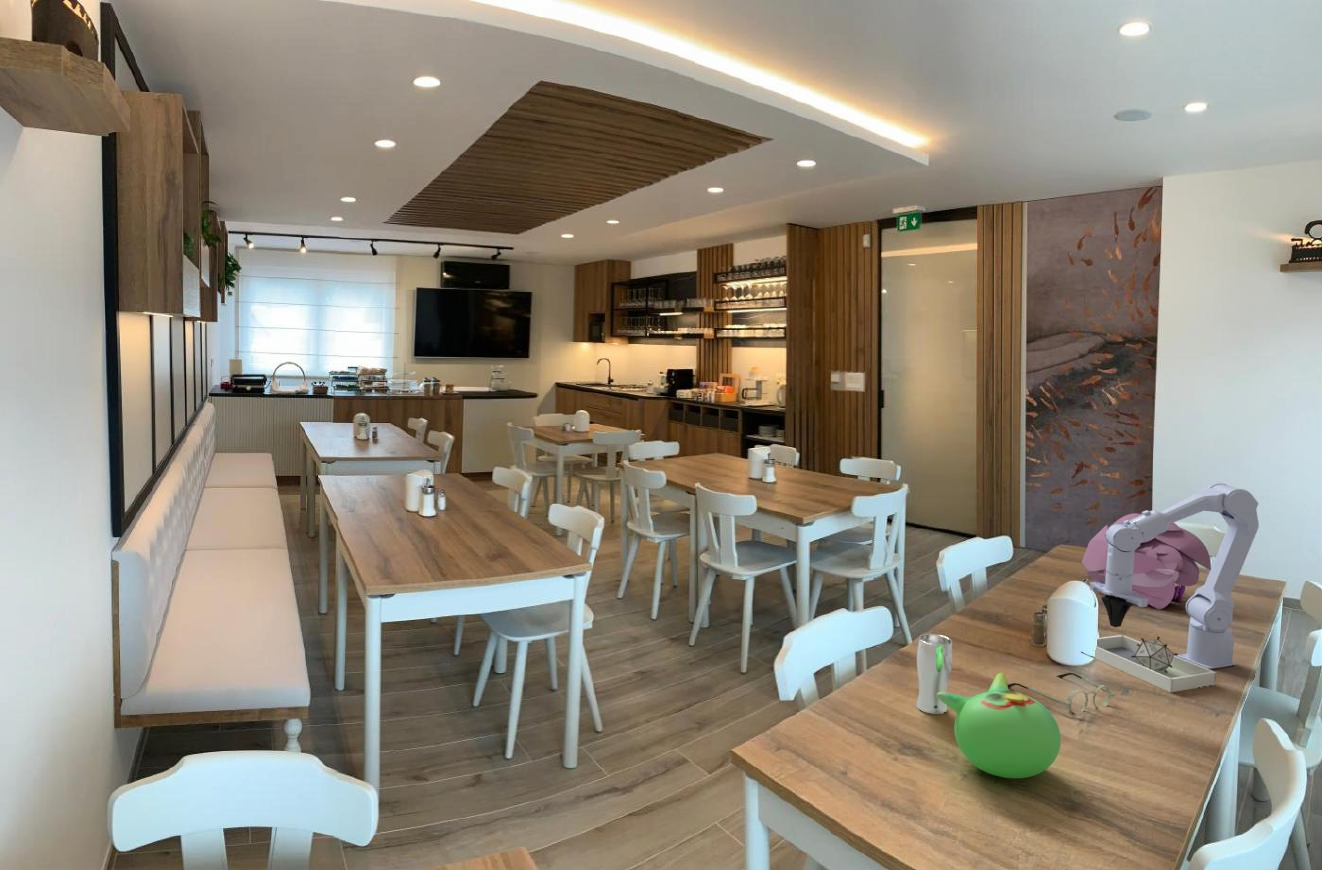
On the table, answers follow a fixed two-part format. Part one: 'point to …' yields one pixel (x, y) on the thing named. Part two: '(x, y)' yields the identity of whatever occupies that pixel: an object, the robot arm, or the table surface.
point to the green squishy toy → (1004, 731)
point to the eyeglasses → (1072, 694)
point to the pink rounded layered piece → (1155, 563)
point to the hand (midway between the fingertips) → (1115, 626)
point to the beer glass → (933, 671)
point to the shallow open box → (1177, 679)
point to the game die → (1154, 655)
